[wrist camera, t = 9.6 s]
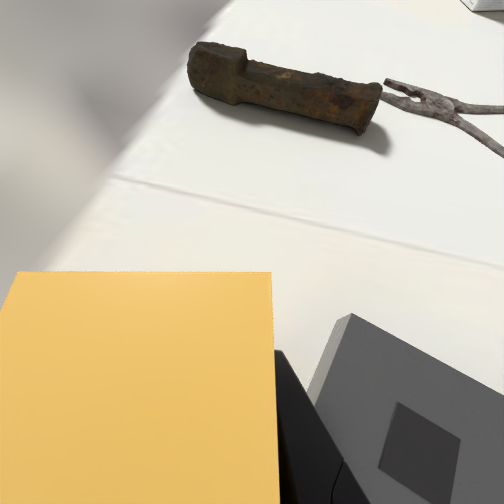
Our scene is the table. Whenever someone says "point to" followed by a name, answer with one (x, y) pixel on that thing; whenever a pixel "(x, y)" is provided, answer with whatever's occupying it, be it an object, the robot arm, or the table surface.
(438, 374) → the charcoal peg board
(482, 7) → the light bulb box
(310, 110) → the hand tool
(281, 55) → the table surface
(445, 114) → the pliers
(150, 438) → the amber peg
